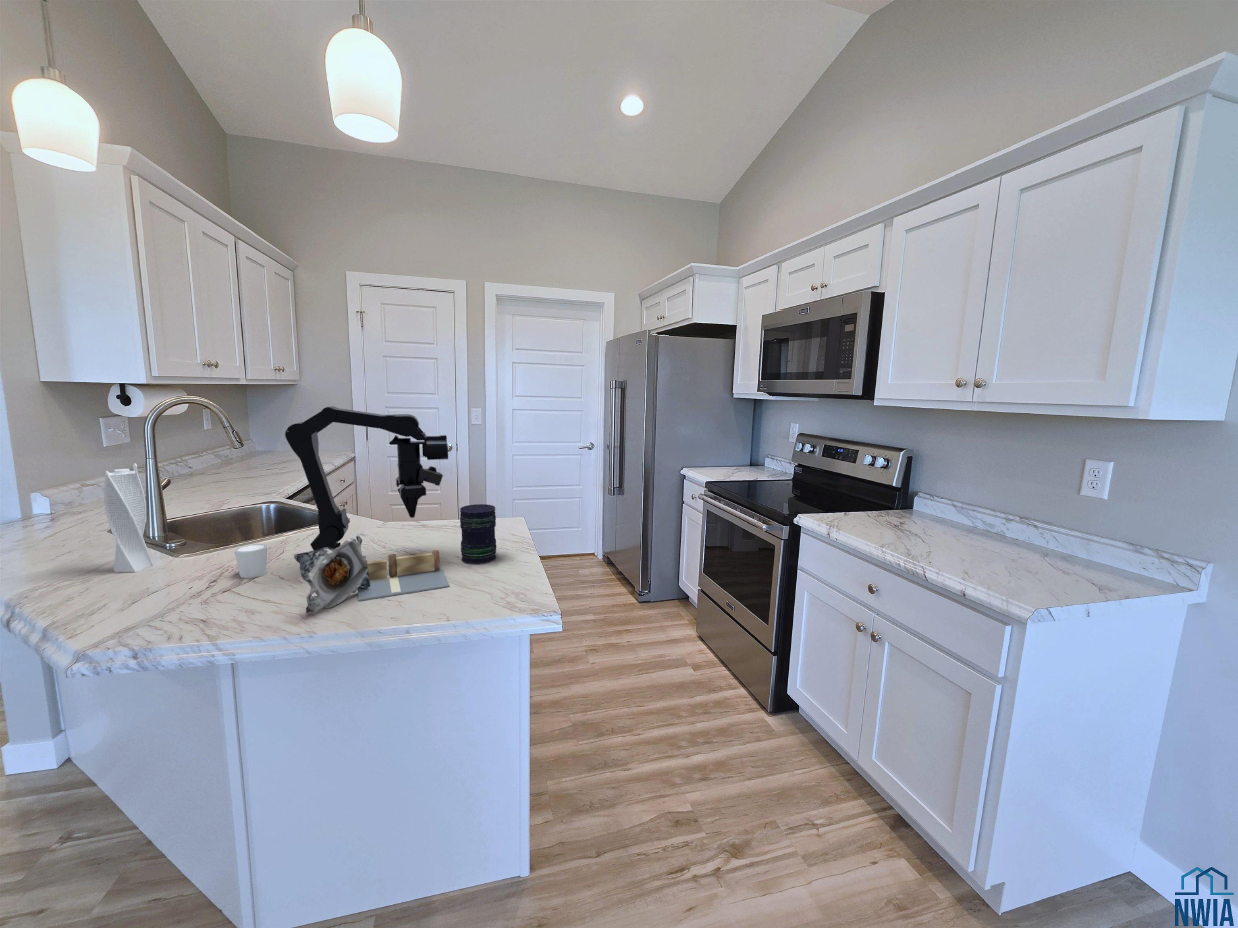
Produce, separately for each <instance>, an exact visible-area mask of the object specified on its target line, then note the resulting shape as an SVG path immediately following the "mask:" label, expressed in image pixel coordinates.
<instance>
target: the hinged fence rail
mask: <svg viewBox="0 0 1238 928" xmlns="http://www.w3.org/2000/svg"><path fill="white" fill-rule="evenodd" d="M387 557H388V559H387V560H388V569H389V576H390V577H394V576H400V575H407V574H414V573H421V572H428V571H437V570H440V566H441V565H440V563H441V562H440V550H437V549H436V550H432V551H431V552H429V553H419V554H412V555H404V556H397V554H395V553H391V554H389V555H387Z"/></svg>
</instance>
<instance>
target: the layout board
mask: <svg viewBox="0 0 1238 928" xmlns="http://www.w3.org/2000/svg"><path fill="white" fill-rule="evenodd" d="M361 587H363V586H361ZM438 588H440V589H444V588H445V589H446V588H451V585H450V584H449V581H448V579H447V577H446V575H445V572H444V571H443V568H442V566H441V565H440V570H437V571H428V572H421V573H414V574H407V575H400V576H394V577H390V576H389V568H387V578H386V579H379V580H372V581H370V587H368V588H366V587H364V589H360V590H357V594H358V602H363V601H371V600H375V599H382V598H389V597H394V596H401V595H402V596H403V595H407V594H413V593H414V592H415V593H420V591H421V592H425V591H424V590H427V591H432V589H434V590H439V589H438Z"/></svg>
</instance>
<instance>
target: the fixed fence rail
mask: <svg viewBox="0 0 1238 928" xmlns="http://www.w3.org/2000/svg"><path fill="white" fill-rule="evenodd" d="M365 564H366V565H367V566H368V573H369V579H370V581H372V580H379V579H386V578H387V570H388V565H387V564H388V563H387V559H381V560H373V561H368V560H366V559H365Z"/></svg>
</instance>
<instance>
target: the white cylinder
mask: <svg viewBox="0 0 1238 928" xmlns="http://www.w3.org/2000/svg"><path fill="white" fill-rule="evenodd" d="M234 555H235V560H236V565H237V568H238V569H237V570H238V573H239V578H242V579H243V578H244V579H250V578H251V579H252V578H257V577H261V576H263V575H265V574H267V569H268V545H266V544H259V543H258V544H248V545H244V546H241V547H237V548H236V549H234Z"/></svg>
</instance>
